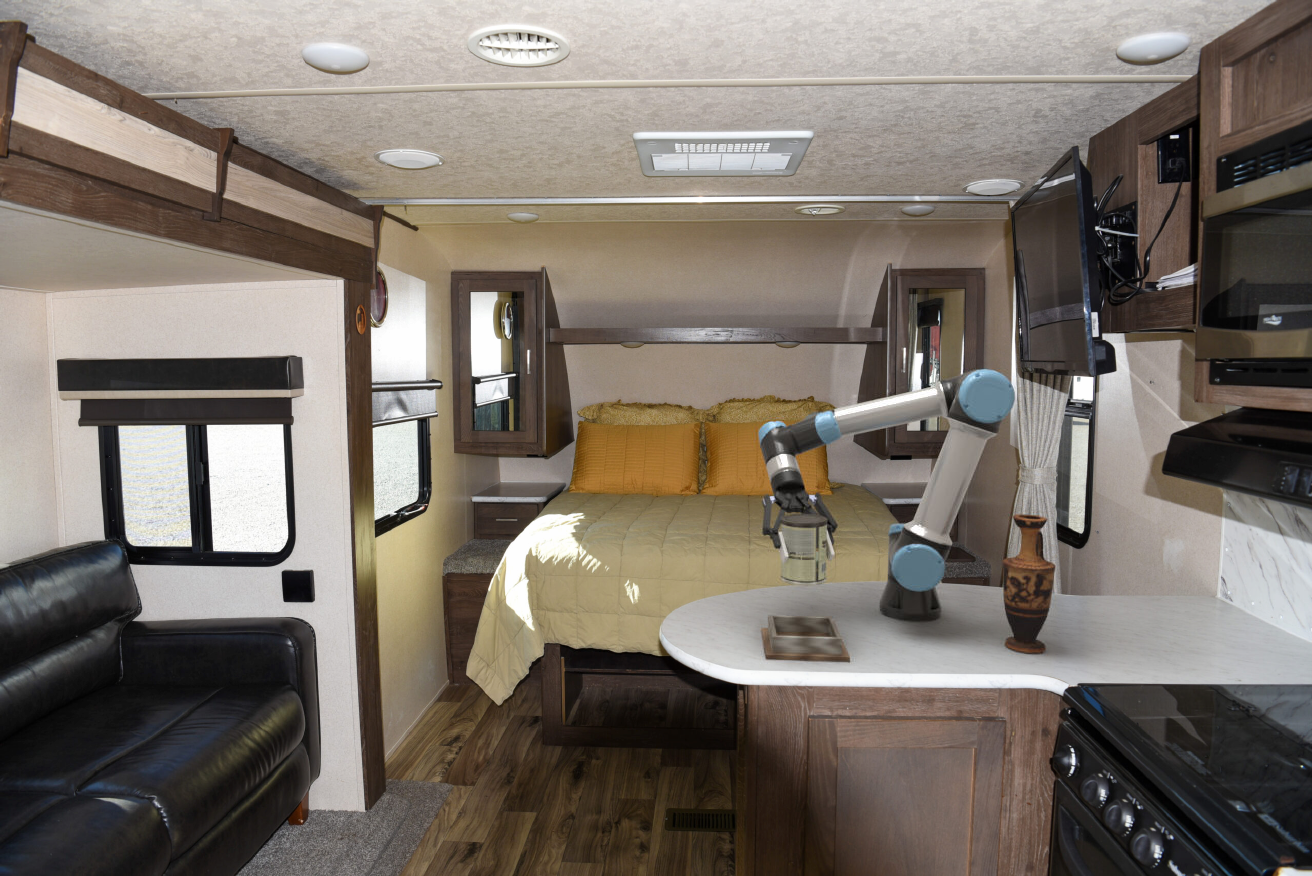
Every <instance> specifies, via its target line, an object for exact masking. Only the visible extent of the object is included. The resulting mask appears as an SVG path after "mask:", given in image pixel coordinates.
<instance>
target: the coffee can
mask: <svg viewBox="0 0 1312 876" xmlns="http://www.w3.org/2000/svg"><path fill="white" fill-rule="evenodd" d="M827 521H828V519H827V518H826V517H823V516H820V515H813V514H801V513H792V514H791V513H790V514H786V515H785V514H784V516H782V517H781V524H780V526H781V527H780V530H781V531H780V532H782V535H783V538H784V541H785V545H786V549H787V552H788V556H789V557H788V559H787V561H786V563H782V560H781V559H780V580H781V581H782V582H784V583H786V584H789V585H794V586H795V585H796V586H805V587H806V586H816V585H817V586H820V585H823V584H825V583H826V582H827V555H826V551H827Z"/></svg>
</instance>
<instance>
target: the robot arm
mask: <svg viewBox="0 0 1312 876" xmlns="http://www.w3.org/2000/svg"><path fill="white" fill-rule="evenodd" d="M1015 400H1016V393H1015V389H1014V386H1013V384H1012V383H1011V381H1010V379H1008V378H1007V376H1005V375H1004V374H1002V373H1001V372H999V371H996V370H993V369H989V368H987V369H985V368H983V369H982V368H981V369H978V368H977V369H973V370H969V371H966V372H964V373H962V374H958V375H956V376H954V377H951V378H950V377H949V378H947V379H942V380H939V381H937V382H936V383H935V385H934V386H930V387H926V388H921V389H917V390H916V389H915V390H912V391H908V392H904V393H899V394H895V395H891V396H887V397H886V396H885V397H882V398H877V399H874V400H873V399H872V400H868V401H864V402H859V403H855V404H852V405H847V406H842V407H838V408H834V409H829V410H823V411H816V412H812V413H810V414H808V415H807V416H806V417H805V418H804V419H803V420H800V421H798V422H795V423H793V424H790V425H786V423H784V422H783V421H780V420H775V421H769V422H766V423H764V424H763V425H762V426H761V427H760V428H759V430H758V435H757V437H758V440H759V447H760V450H761V453H762V457H763V460H764V464H765V467H766V468H765V469H766V472H767V475H768V479H769V481H770V486H771V489H772V493H773V495H771V496H770V495H769V494H765V495H764V496H763V499H762V502H761V503H762V506H763V516H762V517H763V519H762V520H763V521H762V532H761V534H762V535H763V536H769V539H770V540H772V544H773V547H774V549H775V550H776V549H777V550H778V551H779V556H780V561H781V560H782V563H786V561H787V559H788V557H789V556H788V552H787V549H786V545H785V541H784V538H783V535H782V532H781V531H779V529H780V528H781V527H780V526H781V517H782V516H785V514H786V513H787V514H791V513H792V514H793V513H795V514H813V515H820V516H823V517H826V518H827V519H828V521H827V551H826V560H827V561H828V562H832V560H833V559H834V557H835V554H836V553H835V551H834V547H833V545H834V544H835V539H834V536H833V533H835V532H836V530H837V529H838V527H839V526H838V524H839V523H837V522H836V520H835V518H834V517H833V515H832V514H831V512H830V510H829V509H828V507H827V506H826V505H825V503H824V501H823V499H822V495H821V493H819V492H815V494H809V493H808V492H807V491H806V487H805V484H804V483H805V482H804V480H803V476H802V474H801V473H802V472H801V470H800V466H799V463H798V460H797V457H796V456H799V455H801V454H802V455H803V454H804V453H806V452H810V451H812V450H815V449H818V448H820V447H823V446H826V445H831V444H832V443H834V442H836V441H838V440H840V439H842V438H845V437H850V436H855V435H859V434H864V433H867V432H869V433H870V432H873V431H877V430H878V431H879V430H881V429H886V428H892V427H896V426H901V425H906V424H911V423H915V422H919V421H925V420H929V419H934V418H938V417H939V418H940V417H943V418H944V419H946V420H947V422H948V424H949V426H950V427H949V429H948V432H947V434H946V437H945V439H944V442H943V444H942V447H941V450H940V452H939V455H938V456H937V457H938V458H937V459H936V461H935V465H934V467H933V470H932V472H931V475H930V477H929V480H928V483H927V484H926V487H925V489H924V492H923V495H922V496H921V497H922V498H921V500H920V503H919V504H918V507H917V509H916V513H915V515H914V517H913V520H911V521H909V522H907V523H893V524H892V523H891V525H890V526H889V530H888V533H887V537H888V550H887V551H888V552H887V553H888V556H887V558H888V559H887V581H886V584H885V587H884V589H883V591H882V595H881V596H880V600H879V612H880V613H881V614H883V615H884V616H886V617H888V618H893V619H895V620H896V619H897V620H902V621H908V622H929V621H934V620H938V619H940V618H941V616H942V605H941V601H940V598H939V594H938V592H937V587H936V586H938V585H939V584H940V583H941V581H942V580H943V578H944V575H945V570H946V564H945V563H946V560H947V559H948V556H949V553H950V550H951V548H952V545H953V541H952V539H951V537H950V532H951V530H952V528H953V525H954V522H955V521H956V517H957V515H958V513H959V510H960V508H961V505H962V503H963V500H964V498H965V497H966V496H965V495H966V492H967V491H968V488H969V486H970V483H971V481H972V478H973V476H974V474H975V471H976V468H977V466H978V463H979V461H980V460H981V459H980V458H981V457H982V454H983V451H984V450H985V446H986V444H987V441H988V440H989V439H991V438H993V437H996V436H998V434H999V430H1000V429H1001V426H1002V423H1003V420H1004V419H1005V418H1006V417H1008V415H1009V414H1010V412H1011V411H1012V409H1013V408H1014V404H1015ZM774 503H775V504H776V505H777V506H778V507H779V508H780V509H779V512H778V514H777V517H776V519H775V522H774V524H773V527H771V517H772V506H773V504H774ZM812 506H813V507H814V508H813V507H812Z"/></svg>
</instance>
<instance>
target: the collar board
mask: <svg viewBox="0 0 1312 876" xmlns="http://www.w3.org/2000/svg"><path fill="white" fill-rule="evenodd" d="M760 633H761V634H760V635H761V638H762V645H763V652H764V657H765V660H774V661H775V660H778V661H779V660H780V661H782V660H783V661H808V662H809V661H811V662H838V663H839V662H844V663H845V662H847V663H850V662H851V657H850V654H849V652H848V649H847V648H846V645H845V643H844V640H843V637H842V636H841V632H840V631H839V629H838V626H837V624H836V622H835V619H834V617H832V616H808V615H807V616H805V615H804V616H803V615H801V616H800V615H773V614H770V615H767V627H761V628H760Z"/></svg>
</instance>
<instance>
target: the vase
mask: <svg viewBox="0 0 1312 876" xmlns="http://www.w3.org/2000/svg"><path fill="white" fill-rule="evenodd" d="M1012 519H1013V521H1014V523H1015V525H1016V527H1018V528H1019V529H1020V534H1021V535H1020V536H1021V537H1020V550H1019V552H1018V555H1016V556H1014V557H1007V558H1004V559H1003V560H1002V562H1001V564H1002V585H1003V587H1002V590H1003V592H1002V593H1003V604H1004V611H1005V617H1006V619H1007V622H1008V625H1009V627H1010V629H1011V633H1012V635H1013V636H1009V637H1007V638H1005V641H1004V646H1005V647H1007V648H1008V649H1010V650H1012V651H1015V652H1018V653H1026V654H1042V653H1044V652H1045V651H1046V650H1047V648H1046V644H1045V643H1044V642H1042V641H1041V640H1038V638H1037V637H1038V636H1039V634H1040V632H1041V630H1042V628H1043V626H1044V625H1045V623H1046V621H1047V618H1048V615H1049V612H1050V607H1051V603H1052V597H1053V596H1052V595H1053V589H1054V582H1055V581H1054V579H1055V573H1056V564H1054V562H1051V561H1048V560H1046V559H1045V555H1044V535H1043V533H1042V532H1041V529H1043V528H1044V527H1045V525H1046V523H1047V521H1048V518H1047V517H1044V516H1042V515H1036V514H1026V513H1025V514H1022V513H1021V514H1019V513H1018V514H1014V515H1012Z"/></svg>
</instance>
